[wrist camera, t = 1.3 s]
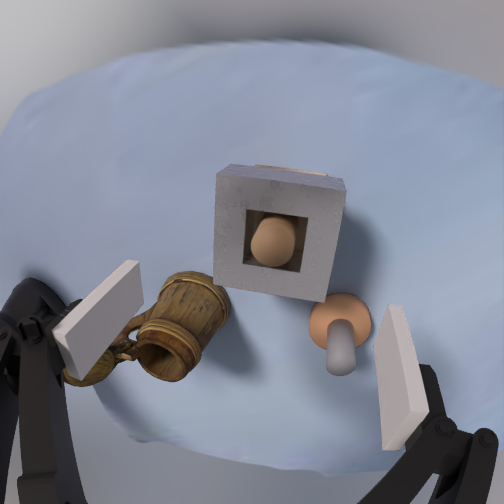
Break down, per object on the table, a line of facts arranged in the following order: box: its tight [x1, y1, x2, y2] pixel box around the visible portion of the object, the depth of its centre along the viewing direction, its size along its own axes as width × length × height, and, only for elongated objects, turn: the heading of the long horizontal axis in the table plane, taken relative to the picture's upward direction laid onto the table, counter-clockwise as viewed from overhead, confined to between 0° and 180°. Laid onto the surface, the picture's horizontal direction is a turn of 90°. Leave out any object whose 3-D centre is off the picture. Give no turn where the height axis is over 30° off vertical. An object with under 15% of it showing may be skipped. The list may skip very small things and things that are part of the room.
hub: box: [309, 293, 371, 376], centre depth 33 cm, size 7×7×8 cm
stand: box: [251, 165, 327, 267], centre depth 27 cm, size 7×7×11 cm
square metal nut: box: [213, 164, 347, 303], centre depth 25 cm, size 9×9×4 cm
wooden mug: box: [62, 271, 230, 387], centre depth 32 cm, size 9×14×18 cm, turn 81°
